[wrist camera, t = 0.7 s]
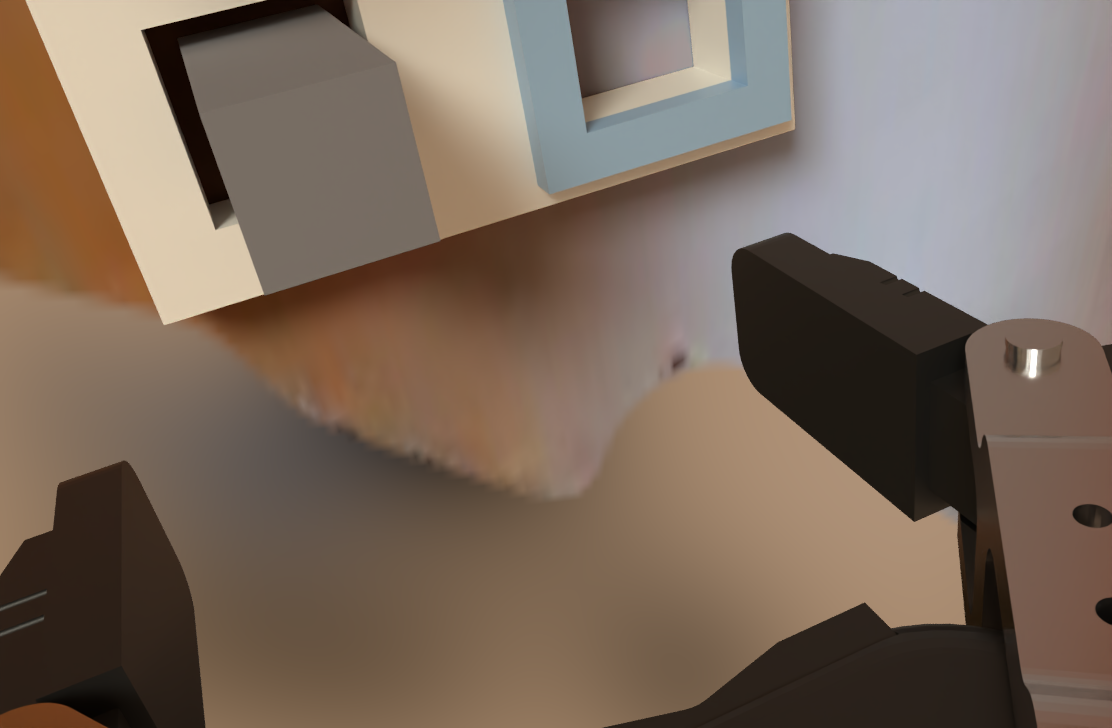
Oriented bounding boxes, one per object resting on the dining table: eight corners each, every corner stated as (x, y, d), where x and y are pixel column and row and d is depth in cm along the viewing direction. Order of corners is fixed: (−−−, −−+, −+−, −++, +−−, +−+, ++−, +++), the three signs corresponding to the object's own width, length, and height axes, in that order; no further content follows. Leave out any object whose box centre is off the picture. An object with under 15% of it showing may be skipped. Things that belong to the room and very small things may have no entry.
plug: (316, 4, 28) (396, 62, 20) (354, 137, 30) (440, 240, 22) (176, 37, 27) (199, 113, 19) (225, 174, 29) (264, 295, 21)
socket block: (733, -205, 30) (798, -213, 27) (755, 113, 35) (812, 136, 32) (16, -53, 25) (2, -41, 22) (161, 293, 30) (165, 339, 27)
